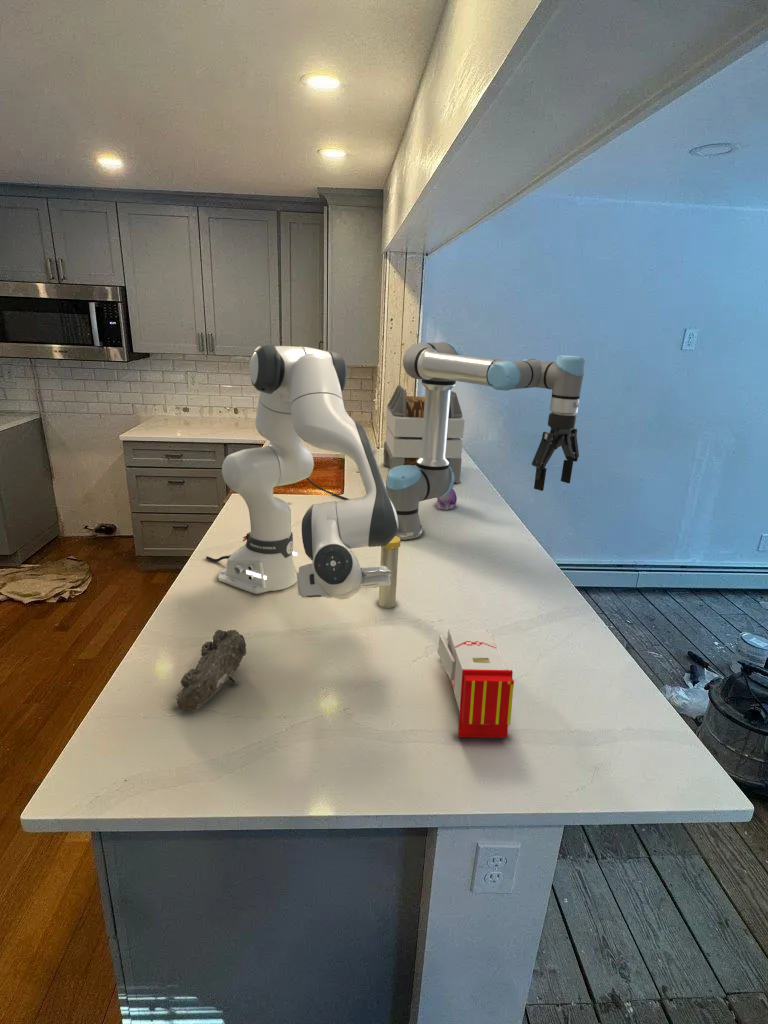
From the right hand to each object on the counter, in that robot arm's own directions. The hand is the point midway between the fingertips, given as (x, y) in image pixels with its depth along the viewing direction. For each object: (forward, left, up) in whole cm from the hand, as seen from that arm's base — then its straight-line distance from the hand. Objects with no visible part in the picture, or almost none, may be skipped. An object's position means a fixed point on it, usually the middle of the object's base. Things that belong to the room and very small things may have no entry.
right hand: (552, 485), depth 166 cm
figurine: (-59, +21, -28) cm, 69 cm away
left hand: (-5, -71, -13) cm, 72 cm away
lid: (-13, -51, -10) cm, 53 cm away
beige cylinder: (-13, -51, -28) cm, 60 cm away
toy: (+26, -62, -28) cm, 72 cm away
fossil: (-9, -101, -28) cm, 106 cm away
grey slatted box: (-101, +46, -28) cm, 115 cm away
